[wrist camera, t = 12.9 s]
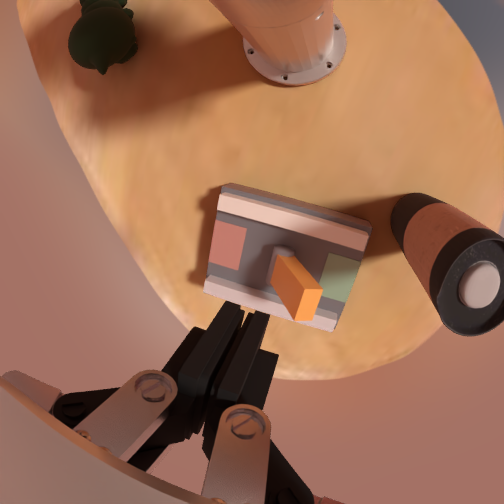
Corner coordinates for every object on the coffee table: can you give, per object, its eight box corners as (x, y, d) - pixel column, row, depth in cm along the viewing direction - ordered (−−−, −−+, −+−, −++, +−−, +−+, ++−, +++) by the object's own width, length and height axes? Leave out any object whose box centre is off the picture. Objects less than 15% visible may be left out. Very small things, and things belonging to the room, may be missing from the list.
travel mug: (451, 205, 32) (540, 261, 14) (428, 258, 35) (489, 348, 17) (401, 180, 33) (470, 216, 15) (378, 236, 36) (417, 321, 18)
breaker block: (231, 182, 38) (216, 188, 34) (369, 221, 36) (374, 232, 31) (213, 278, 44) (199, 295, 39) (335, 315, 41) (334, 337, 36)
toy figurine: (90, 7, 35) (119, 104, 38) (14, -21, 17) (13, 88, 20) (129, -25, 31) (168, 68, 34) (56, -66, 14) (64, 24, 17)
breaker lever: (271, 243, 35) (304, 285, 27) (290, 245, 36) (326, 285, 28) (262, 277, 37) (291, 324, 29) (281, 278, 37) (312, 323, 29)
